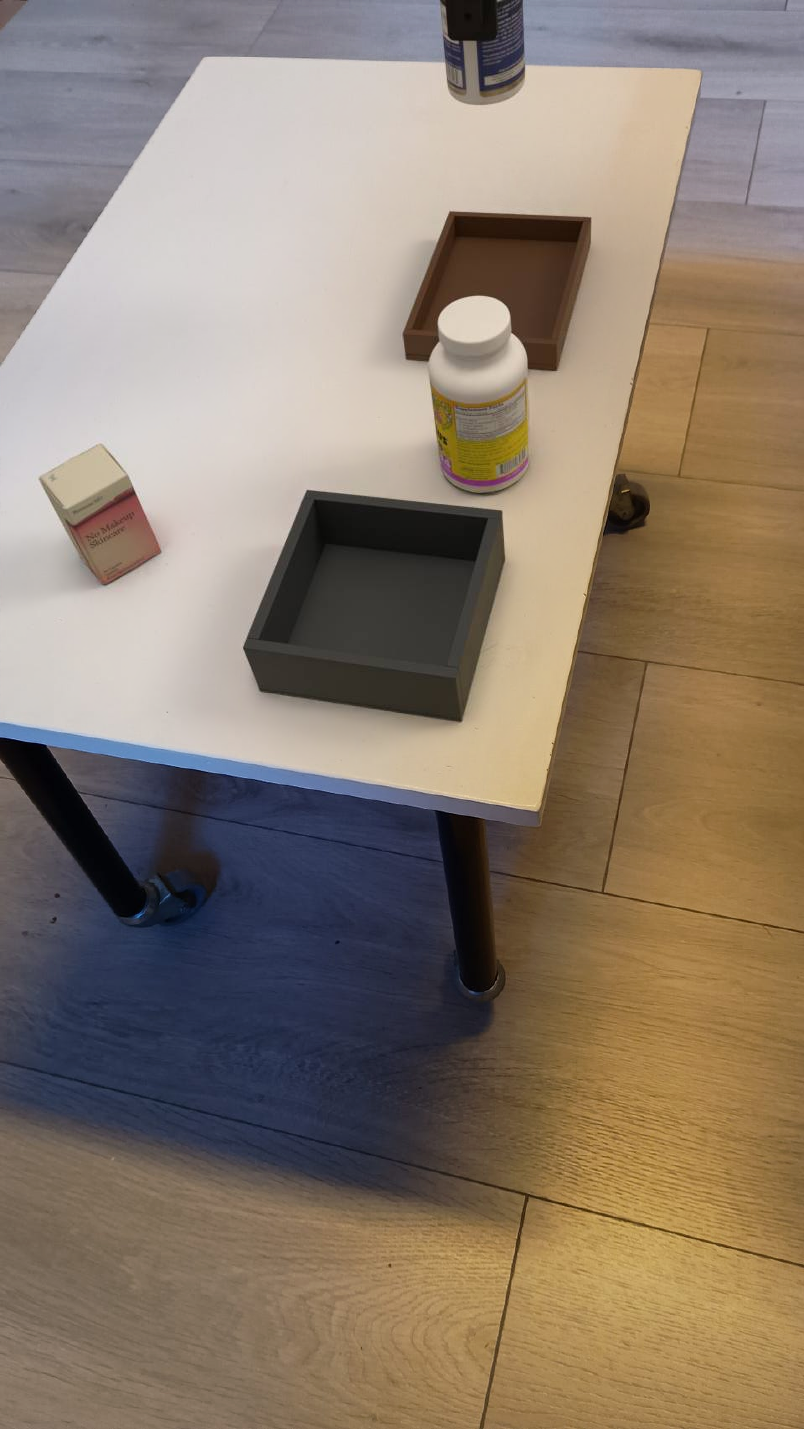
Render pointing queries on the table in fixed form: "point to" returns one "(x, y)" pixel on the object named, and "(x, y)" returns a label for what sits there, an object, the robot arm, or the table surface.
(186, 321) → the table surface
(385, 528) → the dark grey open box
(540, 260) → the tray
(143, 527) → the small box
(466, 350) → the supplement bottle
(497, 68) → the pill bottle
